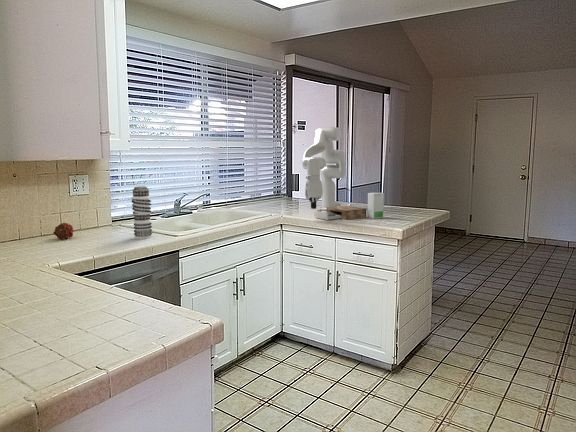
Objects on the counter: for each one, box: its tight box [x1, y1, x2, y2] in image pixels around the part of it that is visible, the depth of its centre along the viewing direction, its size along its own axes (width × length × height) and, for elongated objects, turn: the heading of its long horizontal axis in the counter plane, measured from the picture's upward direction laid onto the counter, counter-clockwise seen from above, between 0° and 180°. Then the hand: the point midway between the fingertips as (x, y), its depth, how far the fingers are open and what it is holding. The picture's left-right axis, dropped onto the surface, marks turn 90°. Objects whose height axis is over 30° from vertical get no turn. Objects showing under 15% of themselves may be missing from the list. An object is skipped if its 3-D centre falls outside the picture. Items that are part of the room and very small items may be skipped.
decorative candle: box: [130, 185, 153, 240], centre depth 225 cm, size 9×9×25 cm
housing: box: [326, 205, 367, 221], centre depth 289 cm, size 16×20×5 cm
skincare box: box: [366, 192, 385, 219], centre depth 282 cm, size 8×7×16 cm
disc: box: [324, 211, 335, 217], centre depth 283 cm, size 7×7×2 cm
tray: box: [314, 210, 342, 221], centre depth 283 cm, size 15×13×4 cm
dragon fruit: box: [53, 222, 74, 240], centre depth 224 cm, size 8×8×12 cm
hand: (313, 208), depth 276 cm, fingers closed
